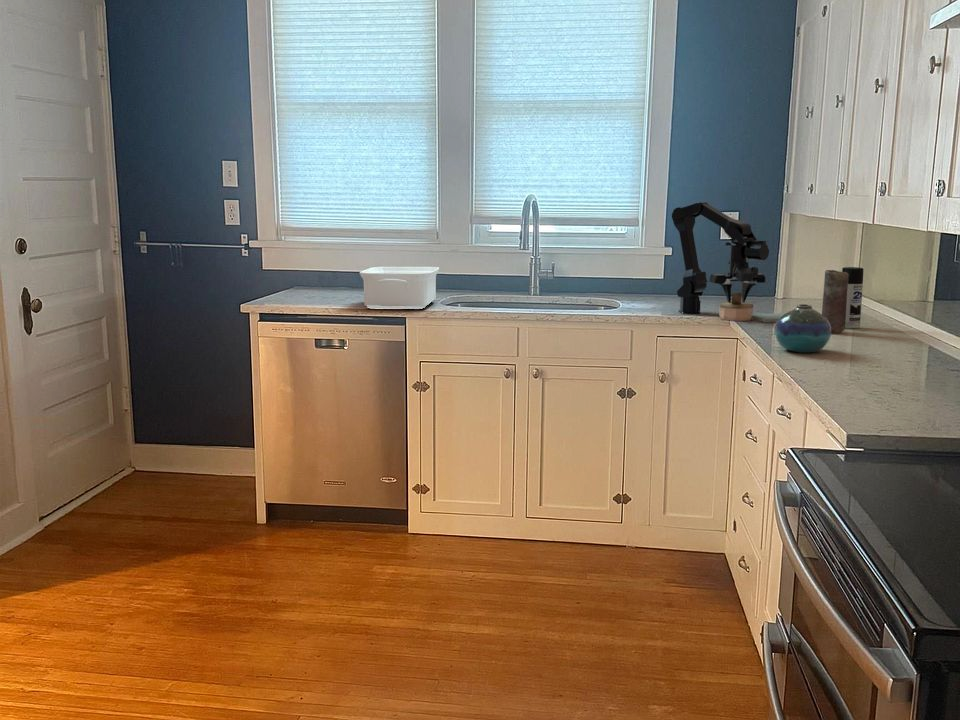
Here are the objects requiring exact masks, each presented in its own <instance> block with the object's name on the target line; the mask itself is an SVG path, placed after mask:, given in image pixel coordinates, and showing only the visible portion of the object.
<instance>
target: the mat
mask: <svg viewBox="0 0 960 720" xmlns="http://www.w3.org/2000/svg"><path fill="white" fill-rule="evenodd" d="M784 314H785V313H753V317H751V319H754V320H756V321H760V322H763V323H776V322H777V321H778V319H779V318H780V317H781V316H782V315H784Z"/></svg>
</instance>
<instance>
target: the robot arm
mask: <svg viewBox="0 0 960 720" xmlns="http://www.w3.org/2000/svg"><path fill="white" fill-rule="evenodd" d="M700 216H703V217H704V218H706V219H707V220H709V221H711V222H712V223H714V224H715V225H717V226H719V227H720V228H721V229H723V232H724V233H725V234H726V235H727V237H729V238H730V239H728V240H727V242H725V246H730V253H729V254H730V258H729V261H728V265H729V272H728V273H727V275H725V274H722V273H715V274H714V273H711V274H710V276H709V283H713V284H718V285H721V288H722V290H723V292H724V295H725V297H726V301H727V302H728V303H730V302H732V286H733V284H732V283H731V282H740V283H741V282H742V285H741V286H742V287H741V293H742V295H741V302H743V303H744V302H745V303H746V300H747V297H748V295H749V292H750V291H751V289H752V288H753V287H754V286H757V284H758V283H761V284H763V283H764V284H765V283H766V281H767V278H766V275H765V274H764V273H759V268H758V267H756V266H754V267H753V266H752V267H749V262H748V260H751V261H753V260H754V261H765V260H767V259H768V258H769V254H770V250H769V249H770V248H769V246H768V244H767V240H763V239H762V240H758V239H757V237H756V236H755V233H754V232H753V231H752V226H751V224H749V223H748V222H745V221H742V220H740V219H735V218H732V217H730V216H729V215H727V214H726V213H724V212H722V211H720V210H718V209H717V208H715V207H714V206H712V205H711V204H709V203H708V202H706V201H697V202H695V203H693V204H689V205H685V206H681V207H676V208H675V209H673V211H672V212H671V219H672V221H673V222H672V223H673V226H674V227H675V228H676V230H677V231H678V233H679V238H680V239H679V240H680V244H681V245H680V246H681V251H682V256H683V262H684V269H685V270H684V271H685V272H684V274H683V277H682V285H681V286H680V287H679V289H677V291H676V293H677V297H679V298H680V299H679V301H680V303H679V309H678V312H679V311H680V312H679V313H681V312H683V313H693V314H701V303H702V302H701V300H700V297H702V296H703V293H704V292H705V289H706V288H707V283H708V279H707V272H706V271H702V269H700V266H699V261H698V254H697V247H696V242H695V237H694V226H695V224H696V218H698V217H700ZM683 313H682V314H683Z"/></svg>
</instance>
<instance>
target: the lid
mask: <svg viewBox="0 0 960 720" xmlns="http://www.w3.org/2000/svg"><path fill="white" fill-rule="evenodd" d="M718 307H719V308H720V307H724V308H738V309H742V308H752V307H753V308H754V303H751V302H746V301H745V302H744V303H743V302H742V292H737V291H736V292H735V291H733V292H731V302H730V303H728V301H725V302H719V306H718Z"/></svg>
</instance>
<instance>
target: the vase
mask: <svg viewBox="0 0 960 720" xmlns="http://www.w3.org/2000/svg"><path fill="white" fill-rule="evenodd" d="M774 336H775V339H776V341H777V343H778V344H779V345H780V346H781V348H783V349H785V350H787V351H789V352H793V353H801V354H802V353H807V354H808V353H815V352H818V351H820V350H822V349H824V347H826V345H827V344H828V343H829V342H830V338H831V336H832V332H831V325H830V322H829V321H828V319H827V318H826V317H824V316H823V315H822V313H820V312H818V311H817V310H815V309H814V308H813V306H812V304H802V303H801V304H797V305H796V307H795V308H794V309H792V310H790V311H788V312H785V313H784V315H782V316H781V317H780V318H779V319H778V321H777V322H775V325H774Z"/></svg>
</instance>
